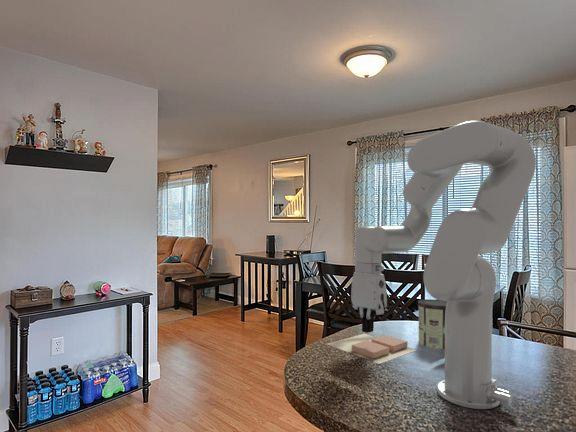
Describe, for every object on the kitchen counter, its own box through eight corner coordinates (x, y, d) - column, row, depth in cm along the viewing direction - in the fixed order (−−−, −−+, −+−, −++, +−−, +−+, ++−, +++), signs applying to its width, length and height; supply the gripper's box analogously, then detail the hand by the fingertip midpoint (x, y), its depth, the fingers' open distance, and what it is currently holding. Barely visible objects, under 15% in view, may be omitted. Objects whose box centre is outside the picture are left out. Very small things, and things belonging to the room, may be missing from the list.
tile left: (367, 346, 112) (389, 353, 106) (351, 351, 108) (373, 359, 101) (367, 340, 112) (389, 347, 106) (351, 344, 108) (373, 352, 101)
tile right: (385, 340, 118) (407, 347, 111) (371, 345, 113) (393, 352, 107) (385, 335, 118) (407, 341, 111) (371, 339, 113) (393, 346, 107)
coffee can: (445, 342, 120) (445, 299, 121) (459, 353, 110) (459, 306, 110) (413, 341, 121) (413, 298, 121) (424, 352, 110) (424, 305, 111)
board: (417, 354, 109) (417, 349, 109) (379, 368, 98) (379, 363, 98) (364, 337, 125) (364, 333, 125) (326, 347, 114) (326, 344, 114)
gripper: (397, 270, 104) (397, 335, 104) (357, 265, 116) (356, 323, 116) (381, 272, 100) (380, 340, 99) (340, 266, 111) (340, 327, 111)
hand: (367, 331), depth 108 cm, fingers closed
